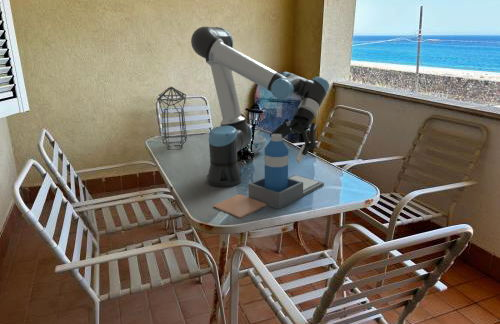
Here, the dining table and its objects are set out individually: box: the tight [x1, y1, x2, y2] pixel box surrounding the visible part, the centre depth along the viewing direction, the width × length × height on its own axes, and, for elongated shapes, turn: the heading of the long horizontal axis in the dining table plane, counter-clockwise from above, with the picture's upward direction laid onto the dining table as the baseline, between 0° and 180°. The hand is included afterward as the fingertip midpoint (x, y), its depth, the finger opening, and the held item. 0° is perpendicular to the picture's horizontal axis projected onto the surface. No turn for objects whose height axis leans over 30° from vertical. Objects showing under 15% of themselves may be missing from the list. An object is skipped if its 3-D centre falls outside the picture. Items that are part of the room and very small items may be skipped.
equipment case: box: [248, 174, 325, 210], centre depth 145 cm, size 15×30×6 cm, turn 137°
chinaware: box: [252, 135, 267, 155], centre depth 198 cm, size 15×15×8 cm
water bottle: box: [264, 134, 289, 192], centre depth 137 cm, size 9×9×25 cm
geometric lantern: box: [156, 86, 188, 149], centre depth 204 cm, size 16×16×35 cm
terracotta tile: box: [212, 193, 268, 219], centre depth 133 cm, size 14×14×1 cm
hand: (282, 158), depth 137 cm, fingers open, 13 cm apart
